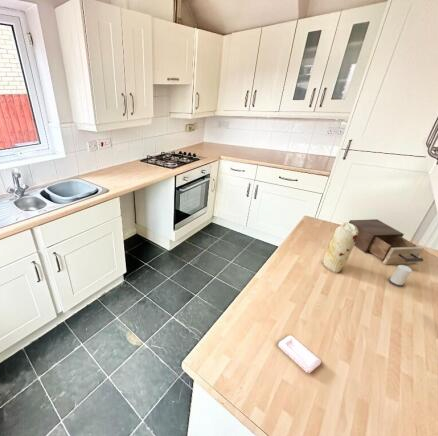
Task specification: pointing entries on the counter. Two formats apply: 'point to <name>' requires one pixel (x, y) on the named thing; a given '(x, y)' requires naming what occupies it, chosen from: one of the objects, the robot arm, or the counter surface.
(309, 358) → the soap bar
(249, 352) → the counter surface
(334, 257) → the food model
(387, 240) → the drawer
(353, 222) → the cabinet
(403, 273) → the tube
